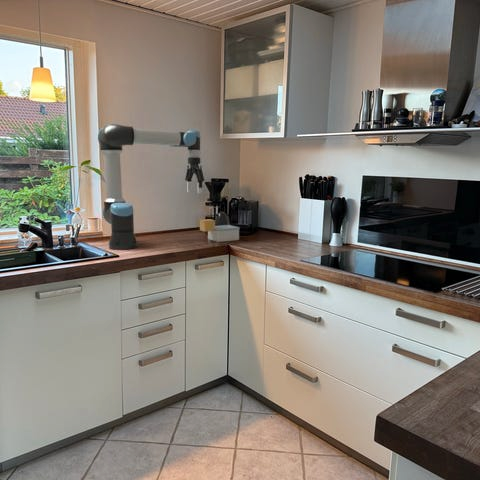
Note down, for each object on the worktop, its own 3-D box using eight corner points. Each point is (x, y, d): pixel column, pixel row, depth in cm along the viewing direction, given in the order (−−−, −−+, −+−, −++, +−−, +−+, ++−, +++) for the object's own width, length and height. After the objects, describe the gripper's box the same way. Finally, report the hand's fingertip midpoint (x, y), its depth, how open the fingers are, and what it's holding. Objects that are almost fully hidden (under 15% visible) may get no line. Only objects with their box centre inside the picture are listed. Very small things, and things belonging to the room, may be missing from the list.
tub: (218, 243, 248) (218, 231, 247) (208, 240, 258) (207, 228, 257) (238, 241, 256) (239, 229, 254) (228, 238, 266) (228, 227, 264)
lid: (207, 234, 243) (207, 221, 242) (197, 231, 254) (197, 219, 253) (239, 231, 255) (239, 219, 253) (228, 228, 265) (228, 217, 264)
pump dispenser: (210, 236, 275) (209, 211, 272) (222, 234, 282) (222, 210, 279) (220, 238, 267) (220, 213, 265) (233, 236, 274) (233, 212, 272)
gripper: (209, 157, 256) (210, 193, 259) (190, 157, 276) (190, 191, 280) (198, 156, 251) (198, 193, 255) (179, 157, 272) (180, 191, 276)
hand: (194, 192), depth 267 cm, fingers open, 13 cm apart
